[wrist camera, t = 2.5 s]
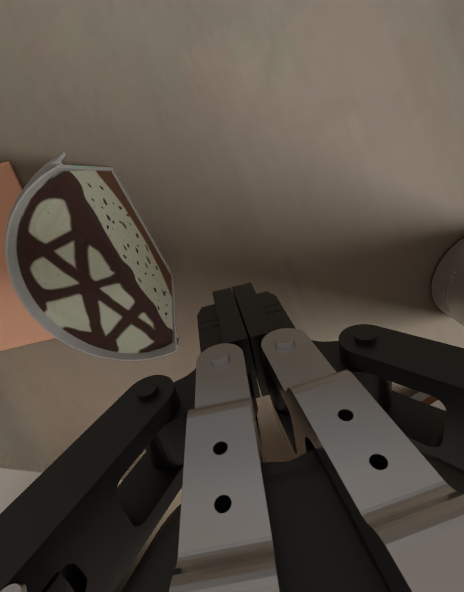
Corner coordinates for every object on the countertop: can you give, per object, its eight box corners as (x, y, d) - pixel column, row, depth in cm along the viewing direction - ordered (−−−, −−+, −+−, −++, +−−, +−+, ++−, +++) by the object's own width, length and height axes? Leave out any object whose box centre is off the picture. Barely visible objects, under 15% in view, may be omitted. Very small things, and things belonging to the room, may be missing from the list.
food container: (24, 184, 24) (-73, 214, 15) (100, 146, 23) (48, 153, 14) (118, 317, 29) (90, 398, 20) (181, 288, 29) (180, 358, 20)
